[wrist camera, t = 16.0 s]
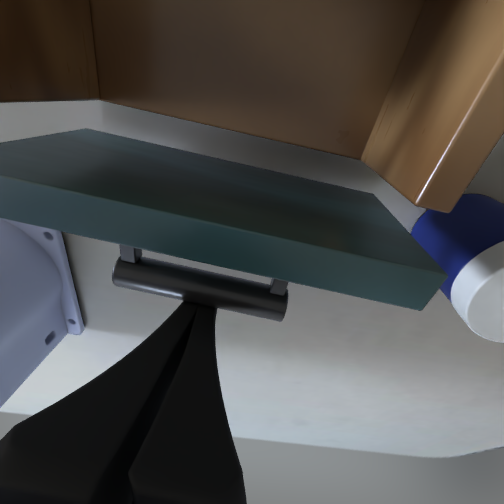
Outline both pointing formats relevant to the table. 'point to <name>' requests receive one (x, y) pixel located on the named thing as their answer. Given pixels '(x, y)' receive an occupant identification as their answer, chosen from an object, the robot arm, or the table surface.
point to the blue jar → (470, 259)
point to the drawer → (257, 124)
